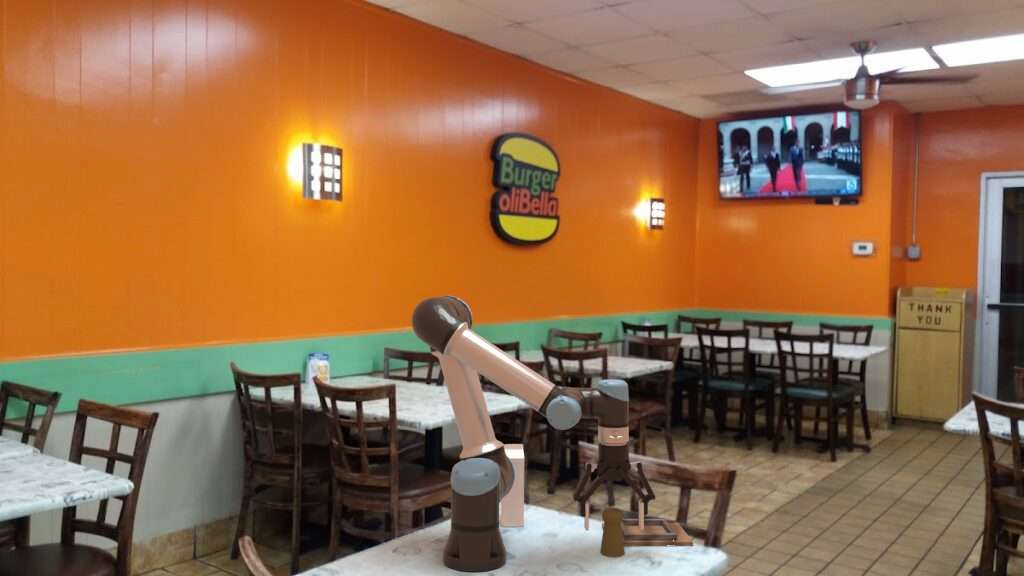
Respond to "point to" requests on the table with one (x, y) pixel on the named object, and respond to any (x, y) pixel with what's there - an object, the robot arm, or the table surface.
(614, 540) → the brown tall rounded piece
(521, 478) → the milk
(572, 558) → the table surface
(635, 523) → the board
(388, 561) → the table surface
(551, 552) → the table surface
